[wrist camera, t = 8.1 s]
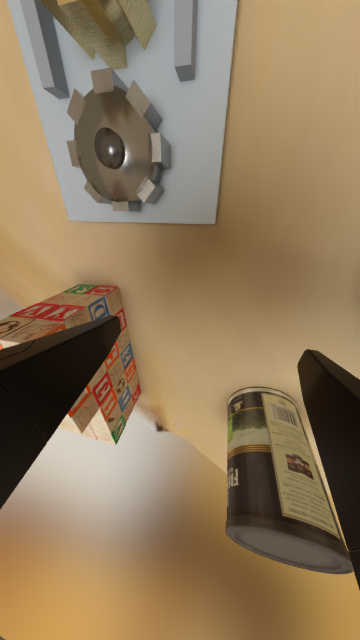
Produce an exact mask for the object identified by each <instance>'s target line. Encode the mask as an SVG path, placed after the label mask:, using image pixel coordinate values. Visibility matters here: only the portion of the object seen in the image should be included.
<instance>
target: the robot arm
mask: <svg viewBox="0 0 360 640" xmlns="http://www.w3.org/2000/svg"><path fill="white" fill-rule="evenodd" d="M120 333H121V324H120V318H119V317H118V316H115V315H109V316H106V317H103V318H100V319H96V320H93V321H90V322H87V323H84V324H81V325H77V326H74V327H71V328H68V329H65V330H62V331H59V332H55V333H52V334H49V335H46V336H43V337H40V338H37V339H33V340H30V341H27V342H24V343H20V344H17V345H14V346H10V347H7V348H3V349H0V509H1V508H2V506H3V505H4V504H5V502H6V501H7V499H8V498H9V496H10V495H11V493H12V492H13V491H14V489H15V488H16V486H17V485H18V484H19V482H20V481H21V479H22V478H23V476H24V475H25V473H26V472H27V471H28V469H29V468H30V466H31V465H32V463H33V462H34V461H35V459H36V458H37V457H38V455H39V454H40V452H41V451H42V449H43V448H44V447H45V445H46V444H47V442H48V441H49V439H50V438H51V436H52V435H53V434H54V432H55V431H56V429H57V428H58V426H59V425H60V424H61V422H62V421H63V419H64V418H65V416H66V415H67V414H68V412H69V411H70V409H71V408H72V406H73V405H74V404H75V402H76V401H77V399H78V398H79V397H80V395H81V394H82V392H83V391H84V389H85V388H86V387H87V385H88V384H89V382H90V381H91V379H92V378H93V377H94V375H95V374H96V372H97V371H98V369H99V368H100V367H101V365H102V364H103V362H104V361H105V360H106V358H107V356H108V355H109V353H110V351H111V350H112V348H113V346H114V344H115V342H116V341H117V339H118V337H119V335H120ZM298 373H299V379H300V385H301V391H302V396H303V401H304V405H305V408H306V411H307V415H308V418H309V421H310V425H311V428H312V431H313V435H314V438H315V441H316V445H317V448H318V452H319V455H320V458H321V462H322V465H323V468H324V472H325V475H326V478H327V482H328V485H329V488H330V492H331V495H332V498H333V502H334V505H335V508H336V512H337V515H338V519H339V522H340V525H341V529H342V532H343V535H344V538H345V542H346V545H347V548H348V550H349V551H348V553H349V556H350V560H351V563H352V566H353V570H354V573H355V576H356V579H357V583H358V586H359V589H360V380H359V379H358V378H356V377H355V376H353V375H352V374H351V373H349V372H348V371H346V370H345V369H343V368H342V367H340V366H339V365H338V364H336V363H335V362H333V361H332V360H330V359H329V358H327V357H326V356H325V355H323V354H322V353H320V352H319V351H316V350H310V349H307V350H305V351H304V353H303V355H302V357H301V358H300V360H299V362H298ZM0 640H5V639H4V638H2V637H1V636H0Z"/></svg>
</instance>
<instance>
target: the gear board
mask: <svg viewBox="0 0 360 640" xmlns="http://www.w3.org/2000/svg"><path fill="white" fill-rule="evenodd" d="M7 2H8V5H9V9H10V12H11V16H12V20H13V23H14V27H15V30H16V34H17V37H18V41H19V44H20V48H21V51H22V55H23V59H24V62H25V66H26V69H27V73H28V76H29V80H30V83H31V87H32V90H33V94H34V97H35V101H36V105H37V108H38V112H39V115H40V119H41V122H42V126H43V129H44V133H45V136H46V140H47V144H48V147H49V151H50V154H51V158H52V161H53V165H54V168H55V172H56V175H57V179H58V183H59V186H60V190H61V193H62V197H63V200H64V204H65V207H66V211H67V214H68V218H69V221H89V222H134V223H178V224H216V217H217V207H218V197H219V188H220V178H221V168H222V158H223V148H224V139H225V129H226V119H227V109H228V100H229V90H230V80H231V70H232V60H233V51H234V41H235V31H236V21H237V11H238V2H239V0H148V5H149V7H150V10H151V12H152V15H153V18H154V20H155V23H156V25H157V26H156V28H155V30H154V32H153V35H152V37H151V39H150V41H149V43H148V46H147V48H146V50H144V49H143V48H142V46H141V45H140V43H139V42H138V40H137V39H136V37H134V38H133V40H132V41H131V42H130V43H129V44H128V45H126V55H127V66H128V68H123V69H117V70H114V71H115V73H116V74H117V75H118V76H119V78H120V79H121V80H122V81H123V83H124V84H125V85H126V86H127V87H128V89H129V88H130V85H131V83H132V81H133V79H134V80H135V82H136V83H137V84H138V86H139V87H140V89H141V90H142V91H143V93H144V94H145V95H146V97H147V98H148V100H149V101H150V102H151V104H152V105H153V106H154V108H155V109H156V111H157V112H158V113H159V115H160V116H161V118H162V119H163V121H162V122H161V124H160V126H159V128H158V129H157V131H158V133H161V134H162V135H163V137H164V138H165V139H166V140H167V141H168V142H169V144H170V145H171V169H163V172H162V177H161V180H160V185H161V186H162V187H163V188H164V190H165V191H164V192H163V194H162V195H161V197H160V198H159V199H158V201H157V202H156V203H155V204H149V203H143V202H141V212H140V211H113V206H112V204H104V203H97V202H96V201H95V200H94V199H93V198H92V197H91V196H90V195H89V193H88V192H87V191H86V190H85V189H84V186H85V184H86V182H87V179H86V177H85V176H84V174H83V172H82V170H81V169H80V168H76V167H73V166H72V163H71V159H70V154H69V150H68V146H67V142H66V141H72V140H74V125H75V122H74V121H73V120H72V118H71V117H70V116H69V115H68V114H67V110H68V106H69V103H70V100H71V97H72V94H73V91H74V88H75V89H76V90H77V91H79V92H80V93H81V94H82V95H84V96H86V94H87V93H88V92H89V91H91V90H92V89H93V83H92V77H91V71H93V70H99V69H105V68H109V67H108V65H107V64H106V63H105V62H104V60H103V59H102V58H101V57H100V56H99V54H98V53H97V52H96V54H95V57H94V59H93V60H92V59H91V58H90V56H89V55H88V54H87V53H86V52H85V51H84V50H83V49H82V48H81V46H80V45H79V44H78V43H77V42H76V41H75V40H74V39H73V37H72V36H71V35H70V34H69V33H68V32H67V31H66V30H65V28H64V27H63V26H62V25H61V24H60V23H59V22H58V21H57V20H56V18H55V17H54V16H53V15H52V14H51V13H50V12H49V11H48V9H47V8H46V7H45V6H44V5H43V4H42V3H41V2H40V0H7Z"/></svg>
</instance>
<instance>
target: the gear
mask: <svg viewBox="0 0 360 640" xmlns="http://www.w3.org/2000/svg"><path fill="white" fill-rule="evenodd" d="M91 77H92V83H93V89H92V90H91V91H89V92H88V93H87V94H86V96H84V95H82V94H81V93H80V92H79V91H77V90H76V89H75V88H74V91H73V94H72V97H71V100H70V103H69V106H68V110H67V114H68V115H69V116H70V117H71V118H72V120H73V121H74V122H75V125H74V140H72V141H66V142H67V146H68V150H69V154H70V159H71V163H72V166H73V167H76V168H80V169H81V170H82V172H83V174H84V176H85V177H86V179H87V182H86V184H85V186H84V189H85V190H86V191H87V192H88V193H89V195H90V196H91V197H92V198H93V199H94V200H95V201H96V202H97V203H104V204H112V206H113V211H140V212H141V202H143V203H149V204H155V203H156V202H157V201H158V199H159V198H160V197H161V195H162V194H163V192H164V191H165V190H164V188H163V187H162V186H161V185H160V180H161V177H162V172H163V169H171V145H170V144H169V142H168V141H167V140H166V139H165V138H164V137H163V135H162V134H161V133H158V131H157V129H158V128H159V126H160V124H161V122H162V121H163V119H162V118H161V116H160V115H159V113H158V112H157V111H156V109H155V108H154V106H153V105H152V104H151V102H150V101H149V100H148V98H147V97H146V95H145V94H144V93H143V91H142V90H141V89H140V87H139V86H138V84H137V83H136V82H135V80H134V79H133V81H132V83H131V85H130V88H129V89H128V87H127V86H126V85H125V84H124V83H123V81H122V80H121V79H120V78H119V76H118V75H117V74H116V73H115V71H114V70H113V69H112V68H111V67H110V68H105V69H99V70H93V71H91Z"/></svg>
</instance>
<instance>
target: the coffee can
mask: <svg viewBox="0 0 360 640" xmlns="http://www.w3.org/2000/svg"><path fill="white" fill-rule="evenodd" d="M227 407H228V458H227V459H228V460H227V463H228V465H227V477H228V479H227V521H226V534H227V535H228V537H229V538H231V539H232V540H233V541H234V542H235V543H237V544H239V545H240V546H242V547H244V548H246V549H248V550H250V551H252V552H254V553H257V554H259V555H262V556H264V557H267V558H270V559H272V560H275V561H278V562H281V563H284V564H287V565H292V566H295V567H298V568H302V569H307V570H311V571H316V572H322V573H328V574H348V573H352V572H354V570H353V566H352V563H351V560H350V556H349V553H348V551H347V548H346V546H345V543H344V540H343V537H342V534H341V532H340V528H339V526H338V523H337V520H336V517H335V514H334V511H333V508H332V506H331V503H330V500H329V497H328V494H327V491H326V488H325V486H324V483H323V480H322V477H321V474H320V471H319V468H318V465H317V463H316V460H315V457H314V454H313V451H312V449H311V446H310V443H309V440H308V437H307V434H306V432H305V429H304V426H303V423H302V420H301V417H300V414H299V411H298V406H297V404H296V403H295V401H294V400H293V399H292V398H291V397H289V396H288V395H286V394H284V393H282V392H280V391H277V390H274V389H269V388H262V387H259V388H247V389H243V390H240V391H238V392H236V393H234V394H233V395H232V396H231V397H230V398H229V400H228V404H227Z"/></svg>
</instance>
